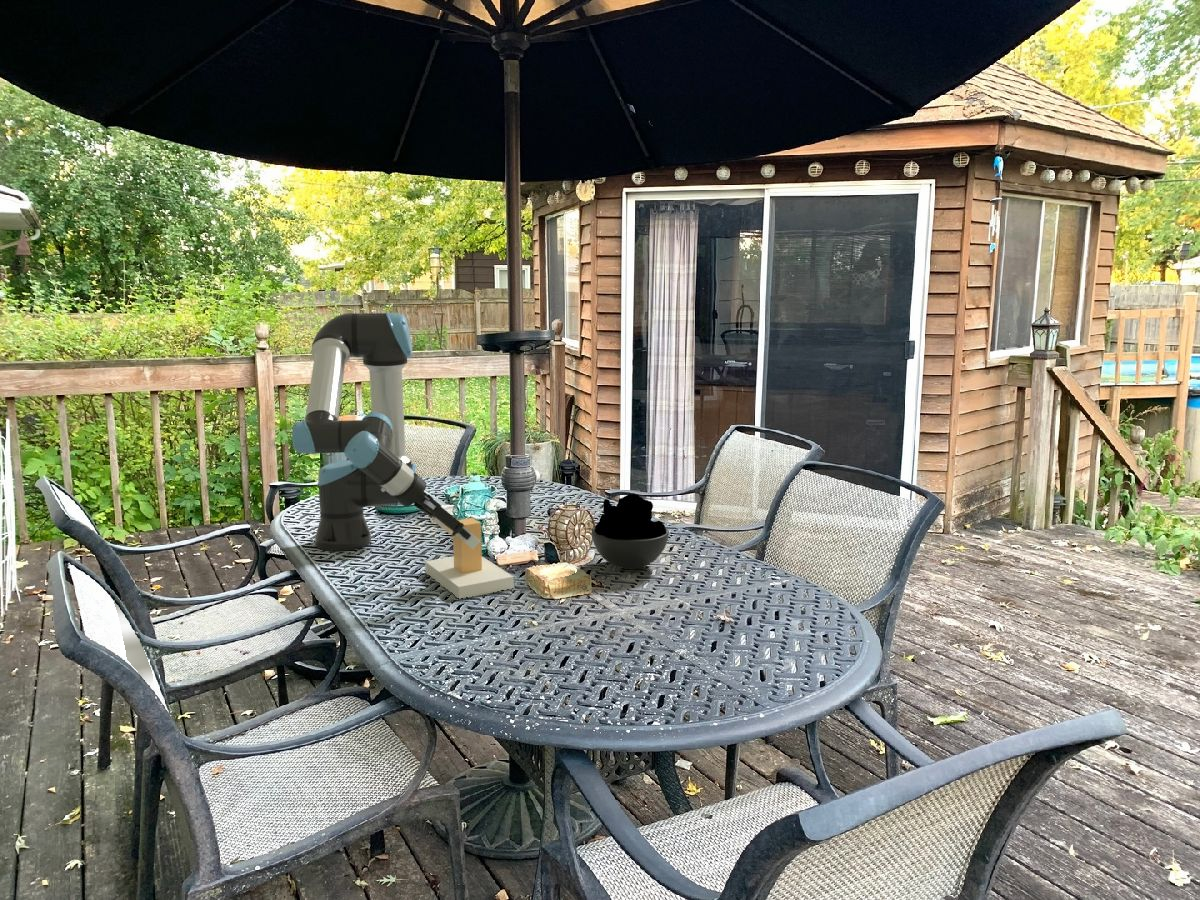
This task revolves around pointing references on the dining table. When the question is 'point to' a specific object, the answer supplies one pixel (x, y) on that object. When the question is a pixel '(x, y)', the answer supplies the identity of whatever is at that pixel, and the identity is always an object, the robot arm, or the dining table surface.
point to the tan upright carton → (468, 549)
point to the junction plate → (469, 578)
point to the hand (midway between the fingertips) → (465, 537)
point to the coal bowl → (629, 533)
